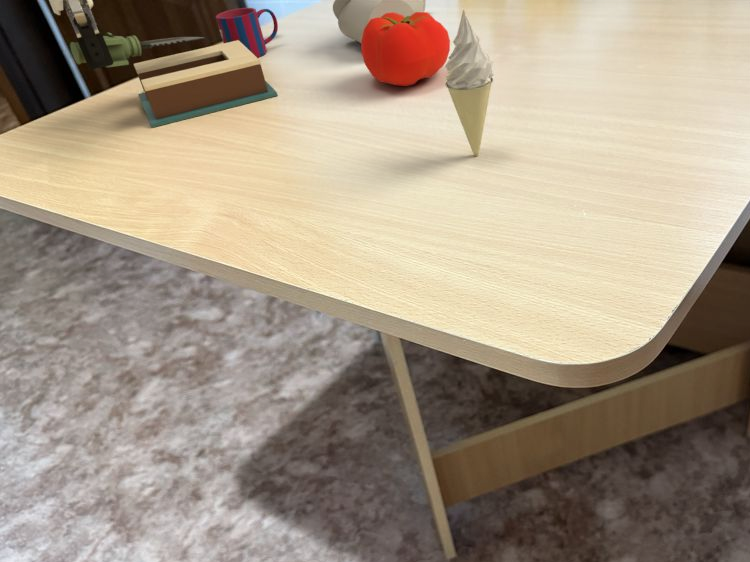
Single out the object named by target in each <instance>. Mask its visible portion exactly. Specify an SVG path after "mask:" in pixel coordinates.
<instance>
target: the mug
mask: <svg viewBox="0 0 750 562" xmlns="http://www.w3.org/2000/svg"><path fill="white" fill-rule="evenodd" d="M263 13H268V14H269V15H270V16H271V18H272V22H273V30H272V33H271V34H270V35H269V36H268V37H267V38H266V39H265V38H264V34H263V31H262V27H261V24H260V20H259V18H260V17H261V16H262V14H263ZM215 20H216V24H217V26H218V30H219V33H220V36H221V39H222V44H224V43H228V42H232V41H237V40H239V41H240V42H241V43H242V44H243V45H244V46H245V47H246V48H247V49H248V50H249V51H250V52H252V53H253V54H254V55H255V56H256V57H257V58H258V59H259V58H261V57H263V56H265V55H266V54H267V53H268V51H267V46H266V45H267V44H269V43H270V42H272V41H273V40H274V39H275V37H276V36H277V34H278V31H279V24H278V19H277V16H276V15H275V13H274V12H273V11H272V10H270V9H269V8H261V9H259V10H256V8H254V7H241V8H233V9H229V10H225V11H223V12H220V13H217V14H216V15H215ZM266 52H267V53H266Z"/></svg>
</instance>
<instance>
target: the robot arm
mask: <svg viewBox="0 0 750 562" xmlns="http://www.w3.org/2000/svg"><path fill="white" fill-rule="evenodd" d="M48 1H49V4H50V6H51V9H52V11H53V13H54V14H55V15H57V16H62V15H61V11H64V9H65V12H66V15H67V17H68V18H69V21H70V23H71V25H72V28H73V30H74V32H75V35H76V37H75V39H76V43H77V42H78V44H79V46H80V49H81V51H82V53H83V56H84V58H85V60H86V63H85V64H86V65H87V67H88V69H90V70H96V69H100V68H106V67H105V66H109V65H112V64H113V60H112V57H111V55H110V52H109V50H108V47H107V45H106V42H105V40H104V38H103V36H104V34H103V32H102V30H101V27H100V25H99V24H97V21H96V19H95V17H94V14H93V12H92V8H93V7H94V1H93V0H48Z"/></svg>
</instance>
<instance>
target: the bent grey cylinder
mask: <svg viewBox="0 0 750 562" xmlns="http://www.w3.org/2000/svg"><path fill="white" fill-rule="evenodd" d="M426 1H427V0H334V1H333V4H332V12H333V14H334V16H335V18H336V19H337V25H338V29H339V30H340V32H341V34H342V35H344V36H345V37H347V38H350V39H351V40H353V41H355V42H357V43H360V44H361V40H362V36H363V31H364V29H365V27H366V25H367V24H368V22H369V21H370V20H371V19H373V18H378V17H379V18H380V17H381V16H383V15H384V14H386V13H396V14H400V15H403V16H404V17H407V16H411V15H413V14H414V13H415V12H426Z"/></svg>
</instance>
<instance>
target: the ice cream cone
mask: <svg viewBox="0 0 750 562" xmlns="http://www.w3.org/2000/svg"><path fill="white" fill-rule="evenodd" d="M461 13H462V14H461V17H460V21H459V26H458V29H457V32H456V33H457V34H456V36H455V37H454V39H453V41H452V43H453V44H454V48H453V50H452V52H451V53H450V54H449V55H448V59H449V60H448V61H447V62H446V63H445V64H444V67H445V69H446V70H447V71H448V72H447V75H446V77H445V78H446V82H445V88H446V89H447V91H448V93H449V95H450V97H451V100H452V103H453V106H454V108H455V111H456V113H457V116H458V118H459V121H460V123H461V126H462V128H463V131H464V133H465V136H466V138H467V141H468V143H469V146H470V149H471V151H472V154H473V156H474V157H478V156H479V155H480V150H481V145H482V139H483V134H484V128H485V121H486V117H487V111H488V105H489V100H490V95H491V88H492V84H493V82H494V78H493V77H494V69H493V60H492V59H491V57H490V55H489V53H488V52H487V51H486V50H484V49H483V48H482V45H481V44H480V40H481V38H480V37H479V36H478V34H477V33H476V32H475V31H474V29H473V27H472V24H471V23H470V21H469V19H468V16H467V14H466V11H465V9H462V12H461Z"/></svg>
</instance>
